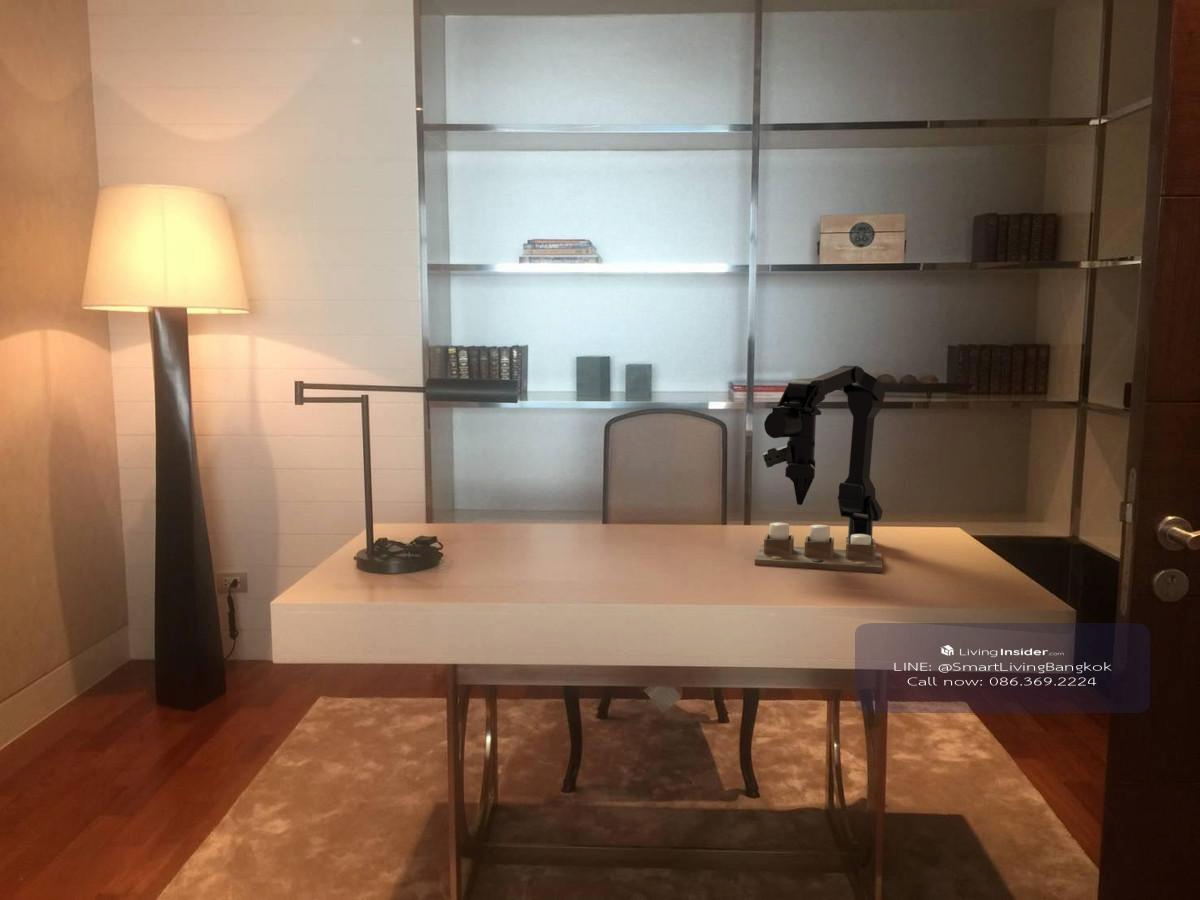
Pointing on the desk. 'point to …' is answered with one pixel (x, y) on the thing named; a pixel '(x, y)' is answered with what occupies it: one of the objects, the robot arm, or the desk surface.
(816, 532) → the button
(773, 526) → the button
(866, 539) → the button
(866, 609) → the desk surface
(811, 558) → the board
